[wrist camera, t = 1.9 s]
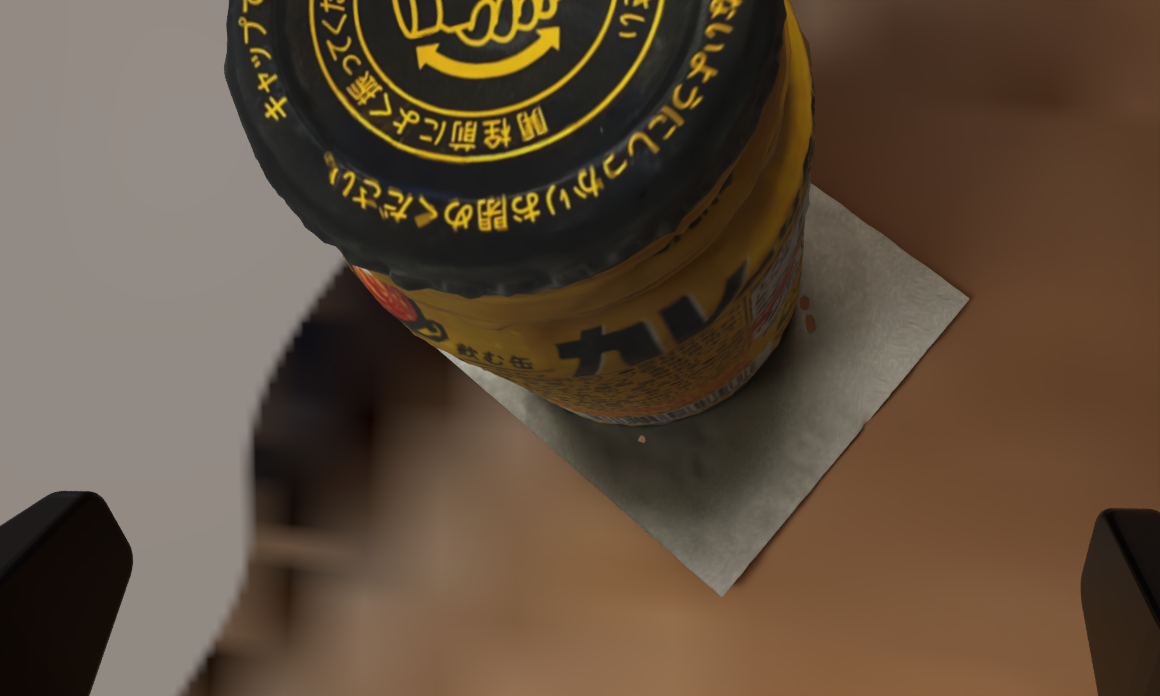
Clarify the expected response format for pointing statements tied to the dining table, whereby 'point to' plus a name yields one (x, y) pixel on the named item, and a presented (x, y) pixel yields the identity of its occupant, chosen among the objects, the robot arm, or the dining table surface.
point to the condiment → (601, 233)
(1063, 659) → the dining table surface
